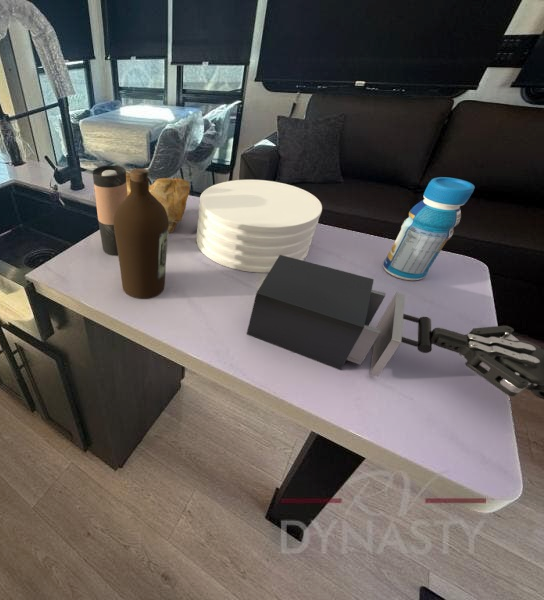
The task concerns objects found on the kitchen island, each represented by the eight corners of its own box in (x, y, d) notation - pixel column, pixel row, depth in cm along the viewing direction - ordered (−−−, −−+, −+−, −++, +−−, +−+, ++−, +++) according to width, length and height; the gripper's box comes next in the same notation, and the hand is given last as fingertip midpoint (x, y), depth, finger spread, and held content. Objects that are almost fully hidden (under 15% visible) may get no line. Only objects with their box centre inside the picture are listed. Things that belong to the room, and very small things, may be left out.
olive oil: (115, 299, 69) (102, 181, 54) (124, 271, 78) (115, 161, 62) (165, 302, 68) (167, 182, 52) (169, 273, 76) (171, 162, 60)
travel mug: (136, 245, 87) (132, 168, 74) (120, 259, 82) (112, 178, 69) (113, 238, 90) (105, 163, 77) (96, 251, 85) (84, 173, 72)
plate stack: (332, 263, 77) (350, 217, 70) (220, 280, 73) (226, 234, 66) (272, 213, 99) (281, 175, 91) (183, 225, 95) (185, 185, 87)
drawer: (412, 337, 57) (437, 303, 52) (410, 389, 49) (439, 354, 44) (299, 301, 66) (311, 269, 60) (282, 341, 58) (294, 307, 52)
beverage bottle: (396, 283, 71) (448, 192, 58) (373, 261, 77) (415, 176, 64) (434, 280, 71) (494, 190, 58) (408, 259, 77) (457, 174, 65)
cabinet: (352, 320, 62) (373, 279, 56) (340, 370, 54) (364, 327, 47) (269, 294, 69) (279, 254, 63) (246, 334, 60) (256, 292, 54)
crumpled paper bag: (208, 224, 96) (214, 171, 88) (176, 243, 85) (179, 185, 77) (146, 208, 108) (146, 160, 100) (111, 223, 97) (108, 170, 89)
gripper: (605, 333, 44) (444, 291, 51) (647, 408, 35) (447, 345, 43) (561, 369, 48) (419, 326, 56) (588, 443, 40) (418, 380, 48)
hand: (431, 334), depth 49 cm, fingers closed
